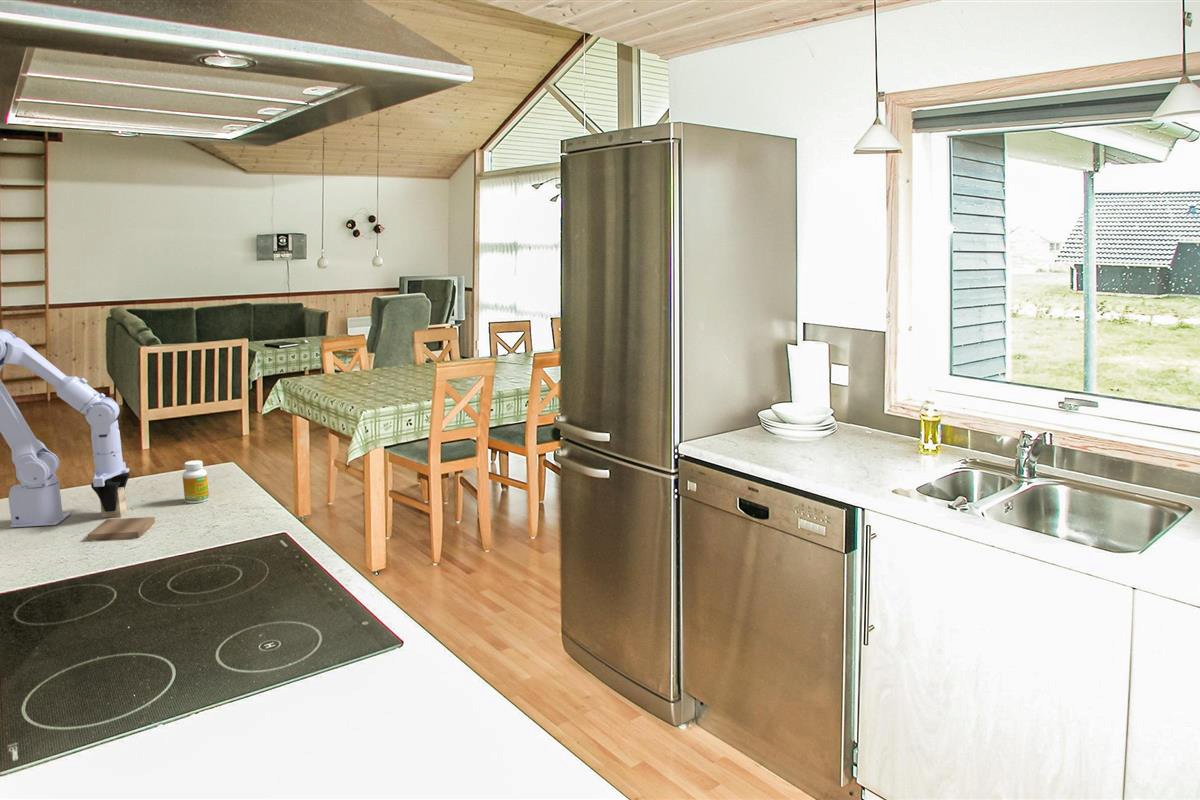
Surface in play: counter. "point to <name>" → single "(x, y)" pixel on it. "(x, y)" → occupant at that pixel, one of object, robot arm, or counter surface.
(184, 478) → the supplement bottle
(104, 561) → the counter surface
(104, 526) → the walnut block
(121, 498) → the birch block
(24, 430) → the robot arm
